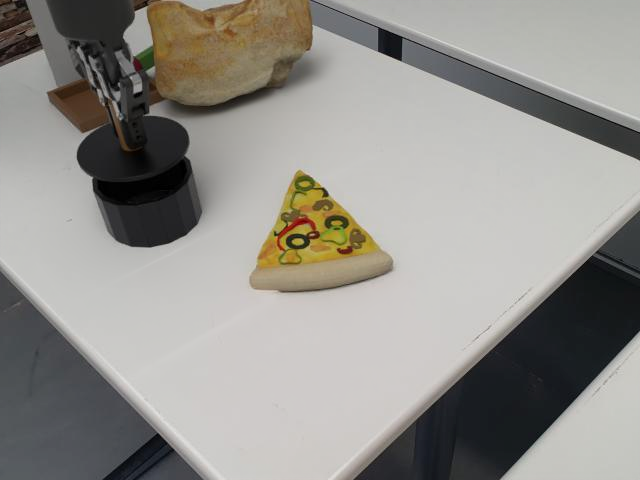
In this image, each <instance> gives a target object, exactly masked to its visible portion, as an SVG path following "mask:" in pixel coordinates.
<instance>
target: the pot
mask: <svg viewBox="0 0 640 480" xmlns="http://www.w3.org/2000/svg"><path fill="white" fill-rule="evenodd" d="M196 183H197V182H196V179H195V175H194V171H193V166H192V163H191V159H190V158H188V157H187V156H186V155H185V156H184V157H183V158H182V159H181V160H180V161H179V162H178V163H177V164H176V165H174V166H173V167H171V168H170V169H168V170H166V171H164V172H162V173H160V174H158V175H155V176H152V177H149V178H146V179H142V180H136V181H129V182H109V181H103V180H99V179H96V178H93V177H92V179H91V185H92V193H93V195H94V198H95V200H96V203H97V205H98V208H99V212H100V214H101V216H102V219H103V222H104V225H105V228H106V230H107V233H108V234H109V235H110V236H111V237H112V238H113V239H114V240H115V242H117V243H120V244H123V245H125V246H128V247H130V248H148V249H150V248H156V247H159V246H165V245H169V244H171V243H173V242H175V241H177V240H179V239H181V238H183V237H185V236H187V235H188V234H189V233H190V232H191V231H192V230H194V229H195V227H196V226H197V225H198V224H199V221H200V219H201V216H202V214H203V209H202V205H201V200H200V196H199V192H198V188H197V184H196ZM157 191H161V192H162V191H163V192H168V193H165V194H163V195H161V196H159V197H157V198H153V199H149V200H144V201H139V202H128V201H130V200H132V199H134V198H136V197H139V196H141V195H143V194H148V193H152V192H153V193H154V192H157Z"/></svg>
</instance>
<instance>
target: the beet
mask: <svg viewBox="0 0 640 480" xmlns="http://www.w3.org/2000/svg"><path fill="white" fill-rule="evenodd" d="M133 58H134V60H133V66H134V69H135V71H136V72H138V71H140V70H143V69H144V70H145V71H146V72H147V71H149V70H151V69H152V68H155V62H154V47H153V44H152V45H150V46H148V47H147V48H145V49H144V50H142V51H140V52H139V53H137V54H136V55H133Z"/></svg>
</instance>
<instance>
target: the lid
mask: <svg viewBox="0 0 640 480" xmlns="http://www.w3.org/2000/svg"><path fill="white" fill-rule="evenodd" d="M120 102H121V98H120ZM108 104H109V107H110V110H111V113H112V117H113V120H114V123H115V126H116V130H117V133H118V136H119V138H117V137H116V136H115V135H114V133H113V130H112V127H111V124H110V123H107V124H105V125H102V126H100V127H97V128H95V129H93V131H92V132H90V133H89V134H88V135H86V136H85V137H84V139H82V141H81V142H80V143H79V145H78V147H77V150H76V161H77V164H78V166H79V168H80V170H82V171H83V172H84V173H85V174H86V175H88V176H89V177H91V178H92V179H93V178H96V179H99V180H103V181H109V182H129V181H136V180H142V179H146V178H149V177H152V176H155V175H158V174H160V173H162V172H164V171H166V170H168V169H170V168H171V167H173V166H174V165H176V164H177V163H178V162H179V161H180V160H181V159H182V158H183V157H184V156H186V155H187V154H188V153H187V152H188V151H189V148H190V143H191V141H190V136H189V132H188V130H187V129H186V127H185V126H184V125H182V124H181V123H179V122H178V121H176V120H175V119H171V118H168V117H164V116H159V115H143V116H141V119H142V122H143V126H144V129H145V133H146V137H147V144H146V145H144V146H142V147H139V148H137V149H135V150H131V149H129V148H128V147H127V146H126V143H125V140H124V137H123V133H122V130H121V127H120V124H119V121H118V118H117V116H116V112H115V109H114V106H113V103H112V100H110V99H108Z"/></svg>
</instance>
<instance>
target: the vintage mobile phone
mask: <svg viewBox="0 0 640 480" xmlns="http://www.w3.org/2000/svg"><path fill="white" fill-rule="evenodd" d="M25 2H26V5H27V8H28V11H29V13H30V16H31V19H32V21H33V24H34V27H35V30H36V33H37V35H38V38H39V40H40V43H41V46H42V49H43V52H44V54H45V57H46V59H47V63H48V65H49V67H50V71H51V72H52V76H53V78H54V79H53V80H54V81H55V84H56V87H57V88H59V87H62V86H64V85H67V84H70V83H72V82H75V81H78V80H80V79H83V78H86V77H85V75H84V72H83V70H82V68H81V66H80V64H79V62H78V60H77V57H76V55H75V53H74V51H73V49H72V47H71V45H70V44H69V40H68V39H67V38H65V37H63V36H61V35H60V34H59V33H58V32H57V31H56V29H55V26H54V23H53V21H52V18H51V15H50V12H49V9H48V6H47V3H46V0H25Z"/></svg>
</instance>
